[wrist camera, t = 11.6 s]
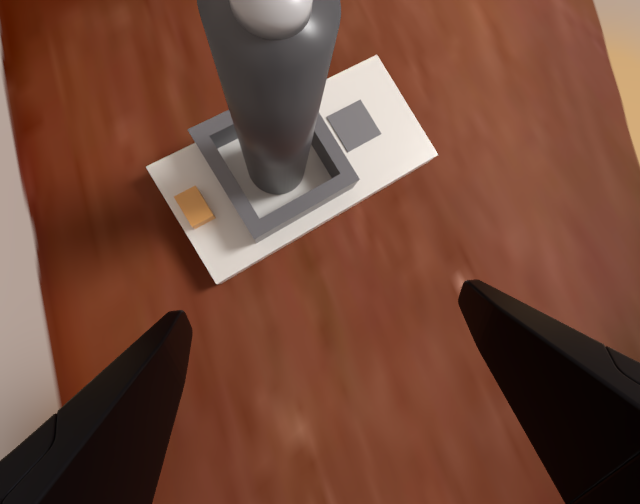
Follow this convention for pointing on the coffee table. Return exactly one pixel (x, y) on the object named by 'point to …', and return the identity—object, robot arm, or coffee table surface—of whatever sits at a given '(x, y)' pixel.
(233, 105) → the joystick
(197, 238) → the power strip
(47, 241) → the coffee table surface
